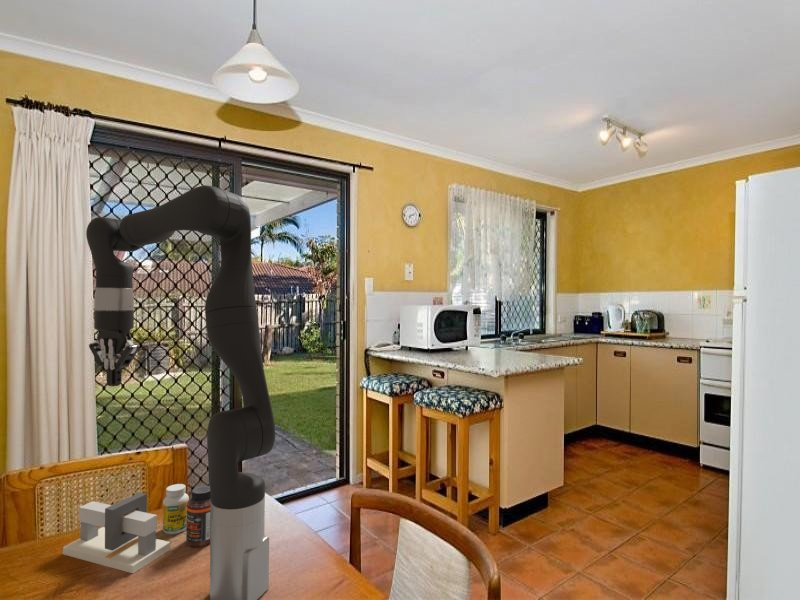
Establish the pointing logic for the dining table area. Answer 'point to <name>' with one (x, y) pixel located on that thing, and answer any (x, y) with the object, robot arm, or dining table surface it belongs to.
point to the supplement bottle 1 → (175, 509)
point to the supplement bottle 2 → (199, 517)
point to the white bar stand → (127, 554)
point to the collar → (114, 520)
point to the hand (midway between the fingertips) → (113, 385)
